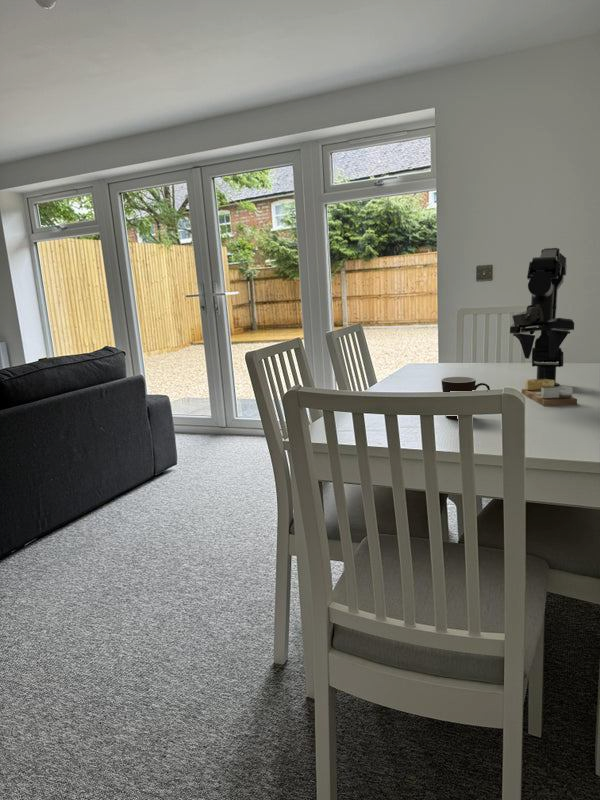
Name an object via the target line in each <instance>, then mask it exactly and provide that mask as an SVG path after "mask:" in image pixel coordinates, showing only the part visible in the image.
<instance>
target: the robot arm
mask: <svg viewBox="0 0 600 800" xmlns="http://www.w3.org/2000/svg"><path fill="white" fill-rule="evenodd" d="M560 250H561V249H560V248H558V247H545V248H544V249H541V253H540V256H539V257H537V256H535V257H532V259H531V261H529V264H528V269H527V274H526V279H527V280H529V281H528V283H527V288H528V292H530V294H531V295H530V296H531V301H530V305H527V306H526V310H525V311H522V312H519V313H516V314H512V321H513V324H512V325H510V327H509V328H510V329H509V334H512V336H513V337H515V338H517V340H518V341H519V342H520V346H521V348H522V352H523V355H524V359H530V357H531V367H536V379H552V380H555V381H554V387H555V386H561V384H560V383H559V382H557V381H556V380H557V368H561V367H564V352H563V349H562V347H560V346H561V345H562V343H563V342H564V340H565V339H566V338H567V336H568V335H569V334H571V331H574V330H575V322H574V320H573V318H572V319H571V318H562V317H557V306H558V305H557V302H558V290H559V289H560V287H561V286H562V284H563V283H564V279H565V276H567V267H568V266H567V257H565V255H563V254H562V253H561V251H560ZM538 331H540V335H538V337H537V338H536V335H534V333H536V332H538ZM535 338H536V340H535ZM533 346H534V347H533Z"/></svg>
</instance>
